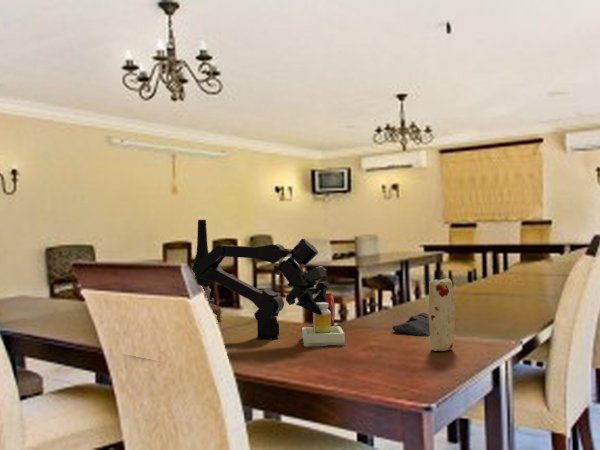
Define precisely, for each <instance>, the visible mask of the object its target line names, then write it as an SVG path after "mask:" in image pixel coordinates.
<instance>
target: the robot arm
mask: <svg viewBox="0 0 600 450" xmlns="http://www.w3.org/2000/svg"><path fill="white" fill-rule="evenodd" d="M318 254H319V251H318V249H316V247H315V246H314V245H313V244H311V243H310V242H309V241H307V240H306V239H305V238H301V239H300V240H299V241H298V243H297V244H296V245H295V246H294V247H293V248H286V247H284V245H282V244H280V243H279V244H278V243H277V244H268V245H260V246H247V245H246V246H244V245H226V244H217V245H216V246H215V247H213V249H211V250H210V251H208V254H207V255H205V256H204V257H203V258H202V259H201V260H198V261H196V262H195V263H194V262H193V264H192V267H191V269H192V270H193V272H194V273H195V276H196V277H199V278H202V279H205V280H209V281H213V282H215V283H216V284H219V285H221V286H223V288H226V289H228V290H230V291H232V292H234V293H235V294H237V295H239V296H241V297H243V298H245V299H246V300H249V301H251V302H252V303H253V304H254V305H255V306H256V308H257V310H256V311H254V313H253V315H254V318H255V320H256V321H257V322H256V323H257V325H256V326H257V329H256V330H257V331H256V333H257V336H256V340H277V339H278V338H279V336H280V322H279V321H278V316H279V313H280V312H281V311H282V310H283V309H284V306H285V302H286V303H287V305H289V306H291V305H296V306H298V307H301V308H303V309H306V310H308V311H310V312H311V313H313V312H314V313H316V314H318V315H321V314H322V312H321V310H320V308H319V307H318V305H317V304H316V303H318V302H326V303H328V301H327V298H326V292H327V291H329V289H330V288H331V287H332V285H331V284H330V283H329V281H318V280H321V279H323V278H327V269H326V268H325V267H324V266H322V265H318V266H317V267H314V268H313V269H311V270H309V271H308V270H306V271H304V270H303V269H302V268H301V267H300V266H302V265H304V266H307V265H308V264H309V263H310V262H311V261H312V260H313V259H314V258H315V257H316V256H317V255H318ZM287 257H288V258H287ZM225 258H242V259H243V258H244V259H245V258H247V259H256V260H260V261H262V262H267V263H270V264H274V263H279V264H277V265H273V272H272V273H273V274H274V275H277V276H279V275H281V274H282V276H283V277H284V278H285V279H286V281H288V283H287V286H288V287H289V288H291V290H290V291H288V293H287V294H286V295H285V301H284V299H283V297H282V296H281V295H280V293H279V292H275V291H274V290H272V289H271V288H266V289H265V288H264V289H262V290H260V289H258V288H256V287H255V286H253V285H251V284H249V283H247V282H245V281H243V280H242V279H240V278H237V277H236V276H234V275H232V274H229V273H228V272H226V271H225V270H223V268H222V267H221V263H222V262H223V260H224V259H225ZM285 258H287V259H286V260H285ZM296 299H297V302H296ZM328 306H329V303H328ZM328 310H330V312H331V308H330V306H329V307H328Z"/></svg>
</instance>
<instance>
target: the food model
mask: <svg viewBox="0 0 600 450" xmlns="http://www.w3.org/2000/svg"><path fill="white" fill-rule="evenodd" d="M428 284H429V286H428V288H429V289H428V290H429V291H428V312H427V314H428V315H429V328H430V336H429V342H430V343H429V344H430V345H429V346H430V350H431V351H432V350H433V351H435V352H437V351H439V352H446V351H449V350H451V349H453V347H454V344H453V343H454V333H455V323H456V307H455V298H454V297H455V296H454V288H453V287H454V286H453V282H452V280H451V278H448V277H446V278H442V279H433V280H432V281H431V280H430V281H429V283H428Z"/></svg>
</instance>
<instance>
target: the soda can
mask: <svg viewBox="0 0 600 450" xmlns="http://www.w3.org/2000/svg"><path fill="white" fill-rule="evenodd" d="M326 298H327V301H328V303H329V306H330V308H331V326H332V325H333V324H335V323H334V322H335V312H334V311H335V308H334V306H335V305H334V303H335V302H334V301H335V300H334V296H333V294H332V291H329V290H327V292H326Z"/></svg>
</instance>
